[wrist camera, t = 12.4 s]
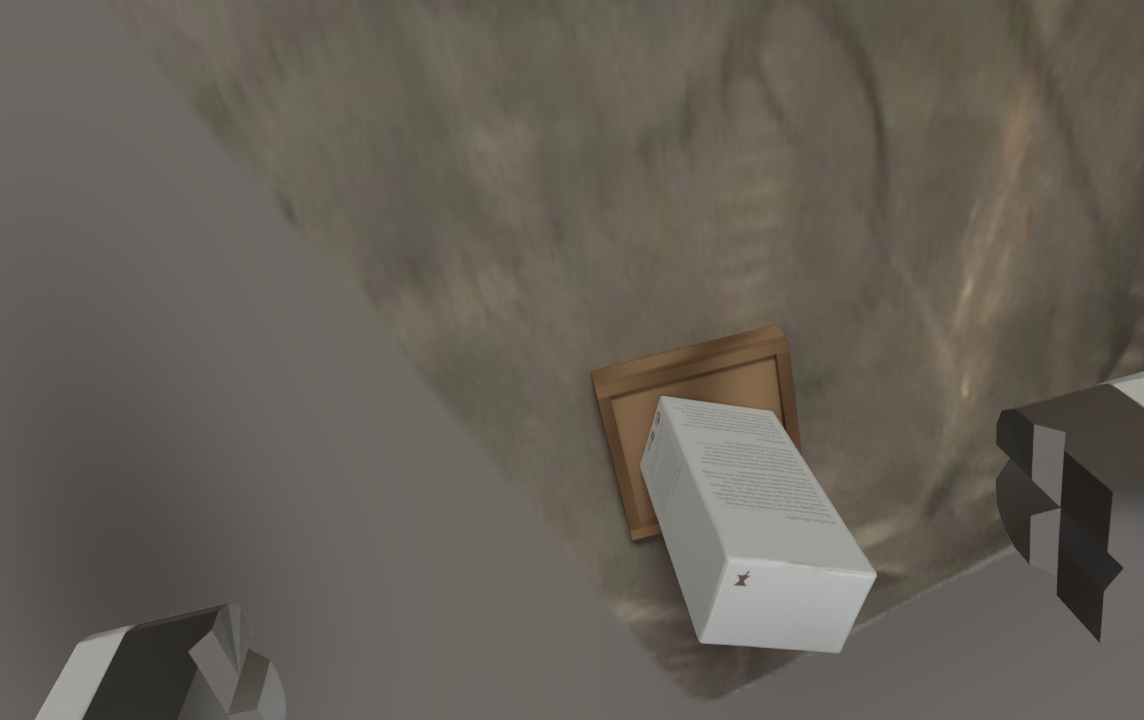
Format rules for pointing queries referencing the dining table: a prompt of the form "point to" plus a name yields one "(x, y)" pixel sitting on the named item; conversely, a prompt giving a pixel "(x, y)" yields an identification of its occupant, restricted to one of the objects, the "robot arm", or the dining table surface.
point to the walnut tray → (702, 373)
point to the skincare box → (751, 530)
